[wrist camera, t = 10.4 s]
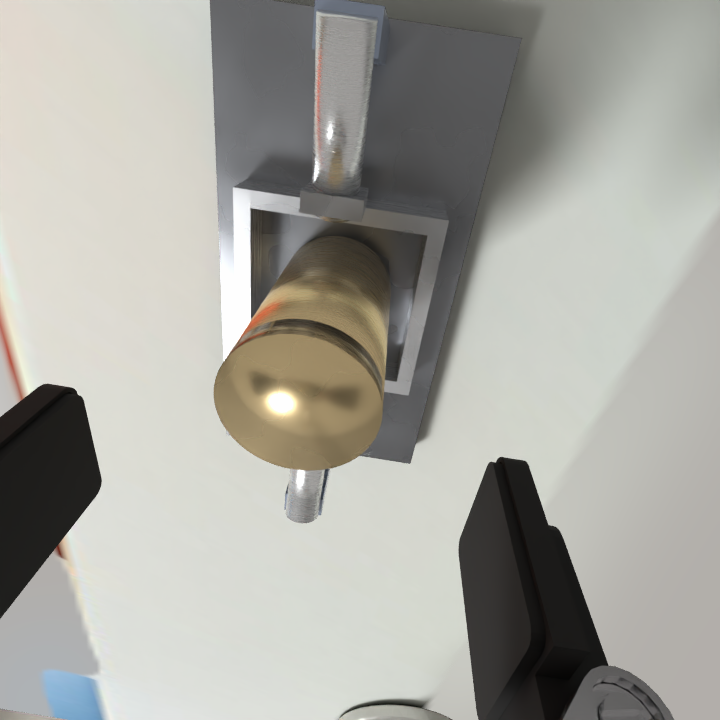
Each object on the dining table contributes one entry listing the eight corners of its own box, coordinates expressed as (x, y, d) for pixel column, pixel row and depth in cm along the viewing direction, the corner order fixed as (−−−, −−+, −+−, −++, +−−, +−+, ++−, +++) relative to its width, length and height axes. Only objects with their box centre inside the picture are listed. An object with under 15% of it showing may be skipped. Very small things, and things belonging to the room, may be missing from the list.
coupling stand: (513, 41, 15) (575, 16, 9) (410, 447, 24) (411, 550, 19) (223, -3, 15) (118, -53, 9) (234, 419, 24) (185, 515, 19)
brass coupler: (382, 343, 20) (369, 481, 13) (282, 328, 20) (217, 457, 13) (399, 244, 17) (396, 349, 10) (286, 227, 17) (209, 320, 10)
